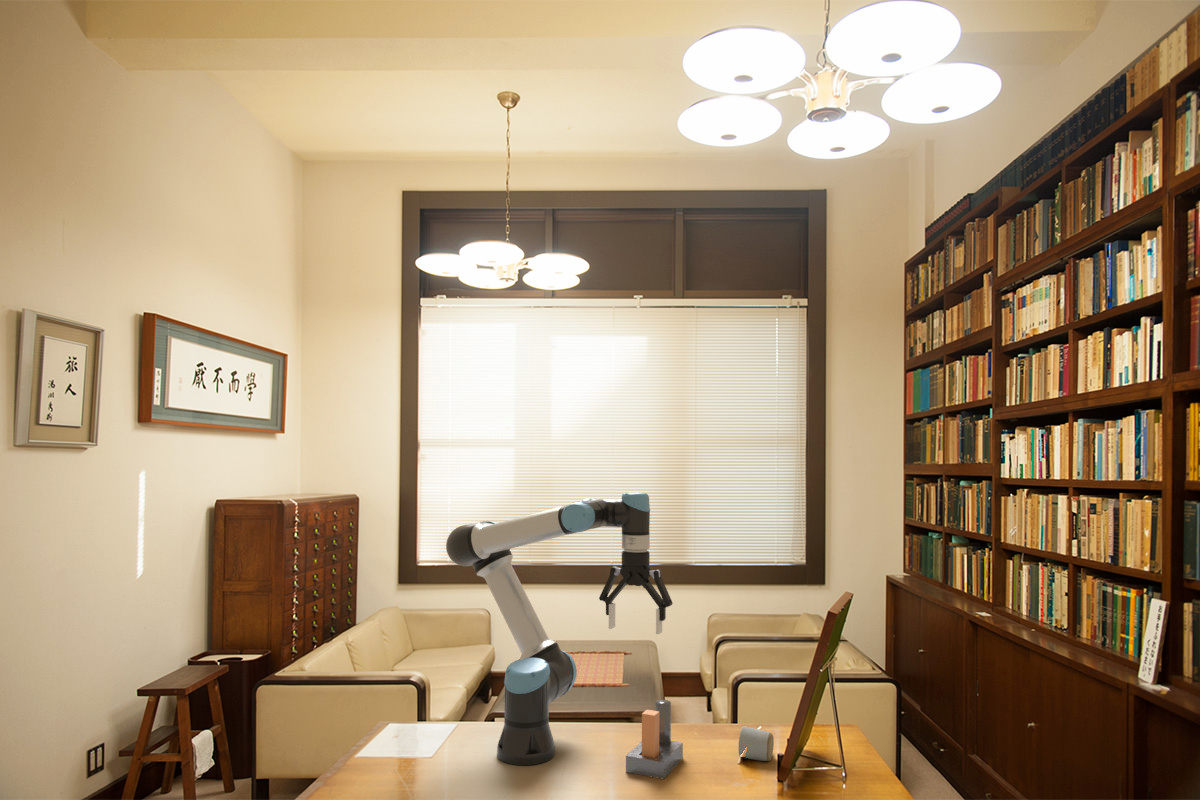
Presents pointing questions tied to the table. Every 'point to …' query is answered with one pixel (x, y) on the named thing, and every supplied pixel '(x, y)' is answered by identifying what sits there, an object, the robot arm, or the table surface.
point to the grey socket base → (667, 749)
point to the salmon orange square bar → (650, 733)
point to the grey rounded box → (756, 743)
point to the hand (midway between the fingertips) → (635, 630)
